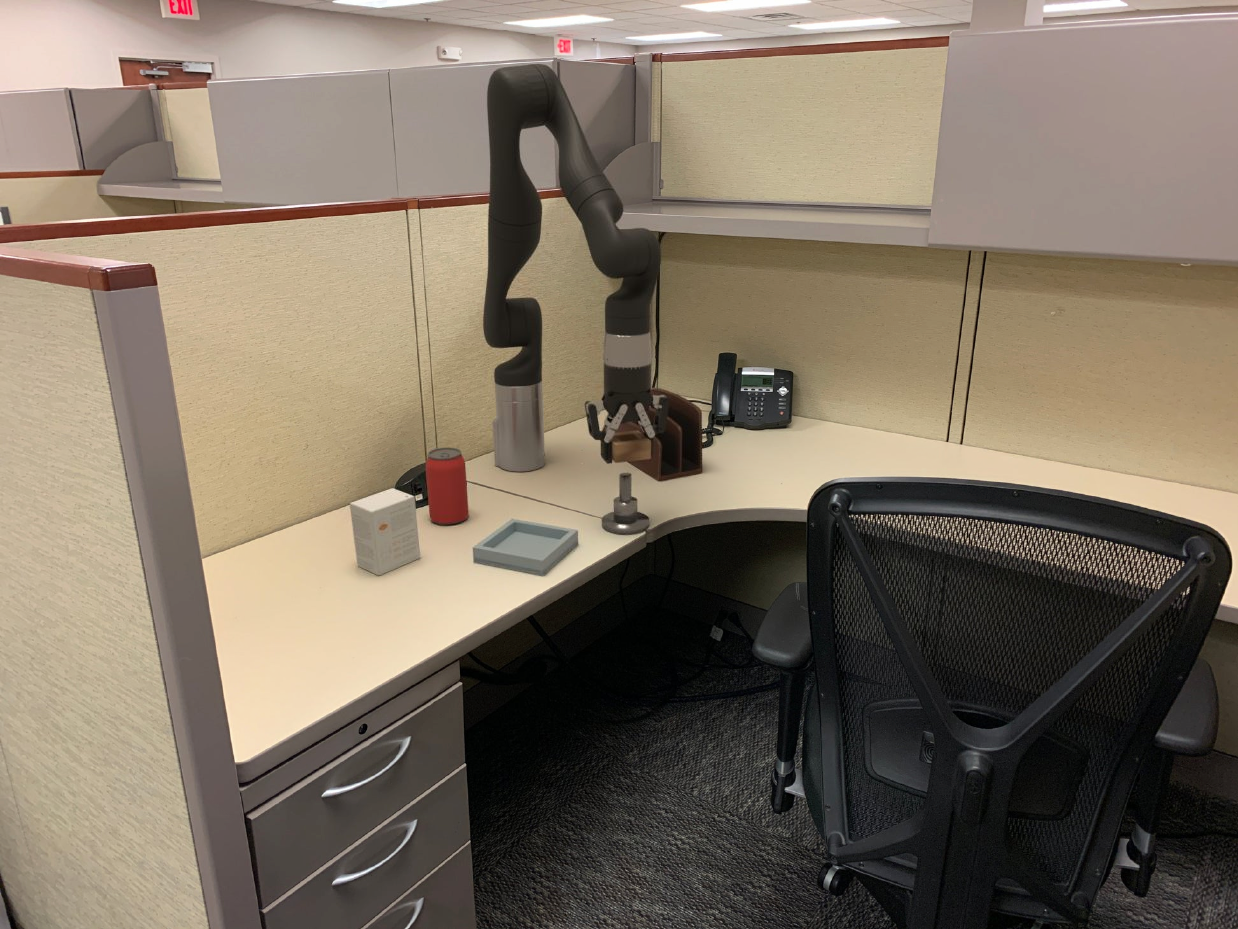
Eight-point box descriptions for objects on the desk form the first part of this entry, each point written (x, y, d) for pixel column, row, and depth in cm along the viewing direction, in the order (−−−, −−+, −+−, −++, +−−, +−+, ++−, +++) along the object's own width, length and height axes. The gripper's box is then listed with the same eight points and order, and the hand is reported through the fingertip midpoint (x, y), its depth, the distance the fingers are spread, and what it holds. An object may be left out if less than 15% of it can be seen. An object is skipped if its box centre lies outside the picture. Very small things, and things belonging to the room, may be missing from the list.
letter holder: (653, 446, 186) (653, 382, 182) (703, 474, 170) (705, 404, 165) (611, 453, 182) (611, 387, 177) (658, 482, 166) (659, 411, 161)
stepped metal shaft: (593, 530, 144) (593, 479, 141) (613, 512, 151) (612, 464, 148) (638, 537, 141) (638, 486, 138) (656, 519, 148) (656, 470, 145)
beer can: (431, 528, 145) (425, 460, 141) (428, 513, 151) (423, 448, 147) (471, 523, 147) (466, 456, 143) (466, 509, 153) (462, 444, 149)
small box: (399, 549, 138) (392, 487, 134) (421, 558, 135) (415, 495, 131) (355, 566, 132) (348, 502, 129) (378, 577, 129) (371, 511, 125)
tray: (473, 562, 133) (472, 547, 132) (512, 532, 144) (512, 518, 143) (543, 575, 129) (542, 560, 128) (578, 544, 139) (577, 530, 138)
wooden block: (615, 462, 139) (615, 445, 138) (604, 451, 144) (603, 433, 143) (650, 458, 141) (650, 441, 140) (638, 447, 146) (638, 430, 145)
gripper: (590, 369, 131) (592, 472, 137) (678, 361, 136) (676, 462, 142) (576, 358, 138) (578, 457, 144) (661, 351, 142) (659, 448, 148)
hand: (627, 459), depth 143 cm, fingers closed on wooden block, 6 cm apart
